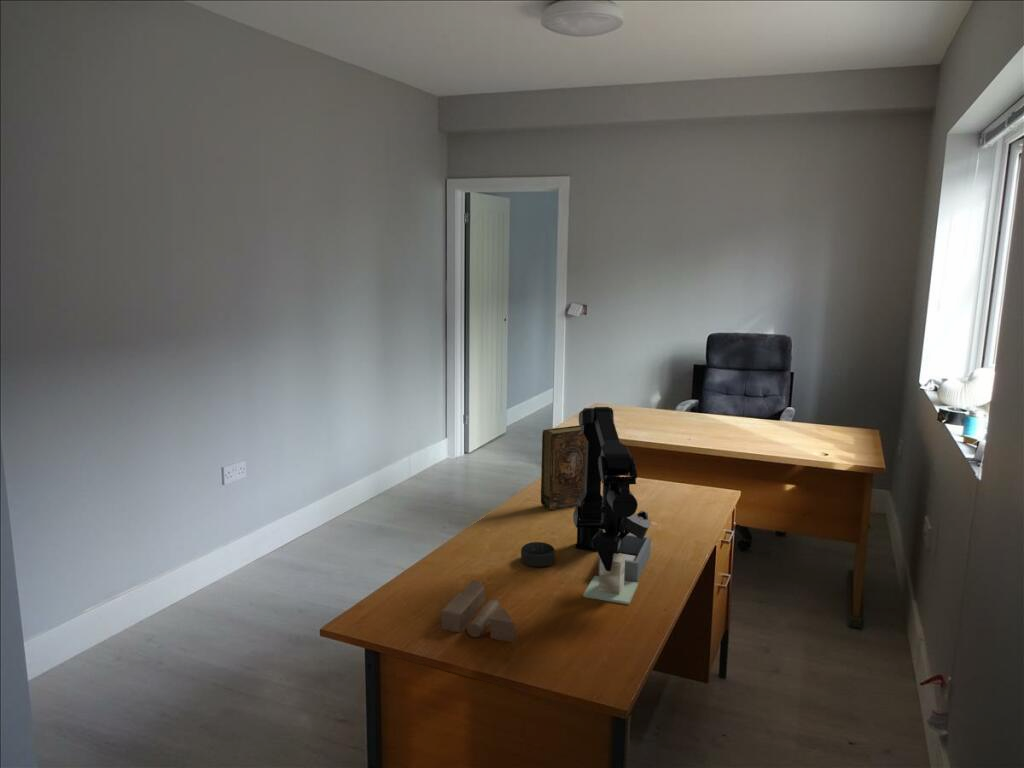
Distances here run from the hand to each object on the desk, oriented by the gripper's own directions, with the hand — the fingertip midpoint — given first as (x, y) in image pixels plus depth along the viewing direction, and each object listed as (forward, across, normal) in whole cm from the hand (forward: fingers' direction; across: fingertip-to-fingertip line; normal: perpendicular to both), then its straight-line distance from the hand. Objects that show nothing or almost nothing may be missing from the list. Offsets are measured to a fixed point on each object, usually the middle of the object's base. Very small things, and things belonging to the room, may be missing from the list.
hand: (612, 564), depth 184 cm
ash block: (+6, 0, 0) cm, 6 cm away
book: (+7, +55, +27) cm, 62 cm away
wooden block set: (+7, -23, +22) cm, 33 cm away
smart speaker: (+7, +10, +22) cm, 25 cm away
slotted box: (+7, +16, 0) cm, 17 cm away
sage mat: (+7, 0, 0) cm, 7 cm away
